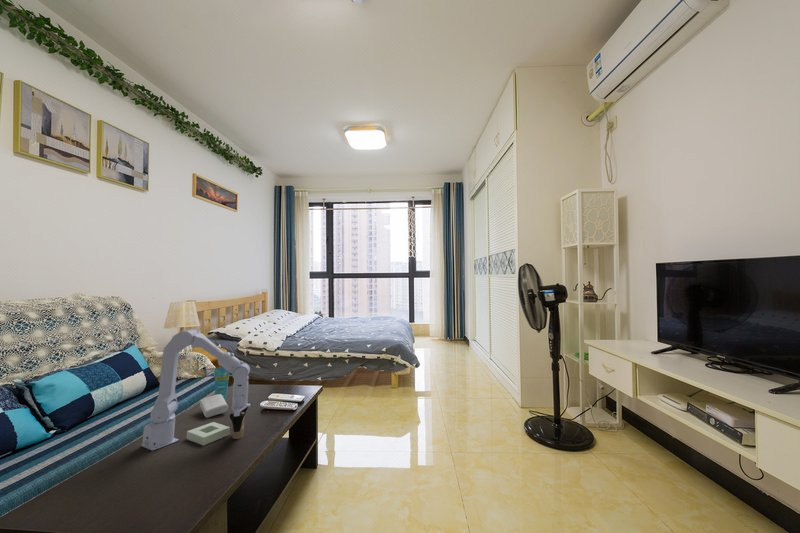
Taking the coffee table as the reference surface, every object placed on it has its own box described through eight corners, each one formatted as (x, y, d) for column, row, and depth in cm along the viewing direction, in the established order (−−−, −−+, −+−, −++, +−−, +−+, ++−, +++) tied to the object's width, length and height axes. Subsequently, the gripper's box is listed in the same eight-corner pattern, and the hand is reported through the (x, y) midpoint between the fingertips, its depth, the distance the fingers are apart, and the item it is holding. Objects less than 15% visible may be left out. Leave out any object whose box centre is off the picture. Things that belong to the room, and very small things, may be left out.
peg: (236, 439, 132) (238, 416, 132) (230, 437, 134) (231, 414, 134) (245, 435, 135) (246, 413, 136) (239, 433, 137) (240, 411, 138)
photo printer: (228, 411, 159) (221, 398, 168) (228, 403, 158) (221, 390, 167) (204, 419, 152) (198, 405, 161) (204, 411, 151) (197, 398, 160)
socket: (203, 445, 126) (203, 437, 126) (186, 439, 131) (187, 431, 131) (229, 434, 136) (230, 427, 136) (212, 429, 141) (213, 421, 141)
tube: (212, 408, 164) (215, 368, 167) (211, 406, 168) (214, 367, 171) (228, 405, 168) (231, 367, 171) (227, 404, 172) (230, 366, 175)
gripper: (248, 398, 130) (246, 434, 129) (252, 388, 144) (251, 420, 143) (228, 400, 128) (226, 436, 127) (235, 389, 142) (233, 421, 141)
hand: (238, 428), depth 135 cm, fingers open, 6 cm apart
